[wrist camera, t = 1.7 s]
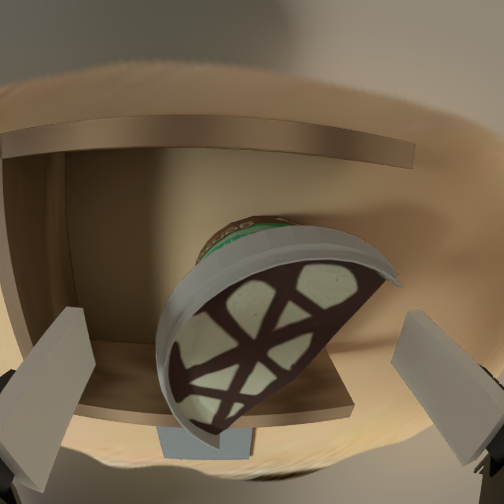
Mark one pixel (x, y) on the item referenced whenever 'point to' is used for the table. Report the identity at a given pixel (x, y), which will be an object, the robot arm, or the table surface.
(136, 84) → the table surface
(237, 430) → the pad
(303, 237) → the food container
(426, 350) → the robot arm
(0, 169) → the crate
